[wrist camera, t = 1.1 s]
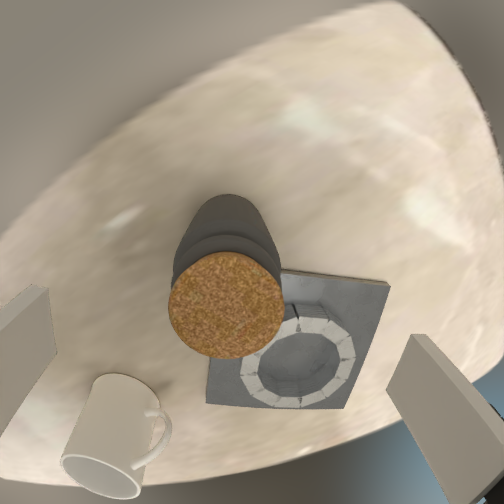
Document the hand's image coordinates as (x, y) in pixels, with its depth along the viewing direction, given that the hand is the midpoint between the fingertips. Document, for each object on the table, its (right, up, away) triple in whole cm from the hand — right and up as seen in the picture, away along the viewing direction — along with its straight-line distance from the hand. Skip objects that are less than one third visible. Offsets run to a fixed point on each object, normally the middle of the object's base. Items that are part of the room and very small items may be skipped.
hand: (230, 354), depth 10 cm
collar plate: (+5, -6, +21) cm, 22 cm away
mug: (-12, -13, +22) cm, 29 cm away
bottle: (-1, +5, +17) cm, 18 cm away
